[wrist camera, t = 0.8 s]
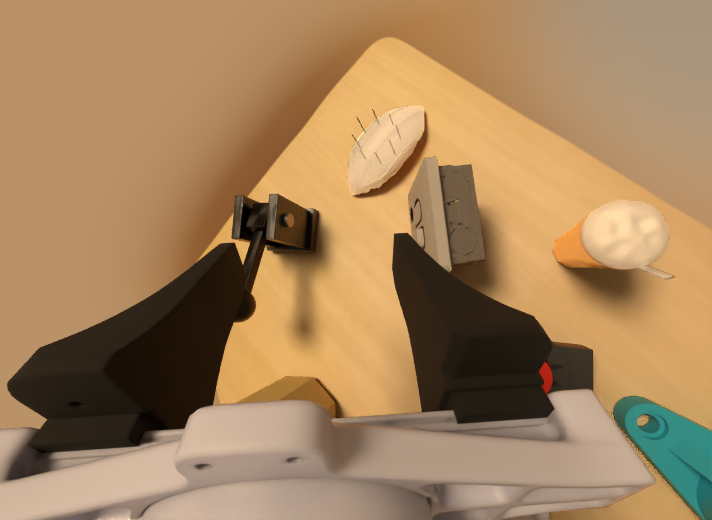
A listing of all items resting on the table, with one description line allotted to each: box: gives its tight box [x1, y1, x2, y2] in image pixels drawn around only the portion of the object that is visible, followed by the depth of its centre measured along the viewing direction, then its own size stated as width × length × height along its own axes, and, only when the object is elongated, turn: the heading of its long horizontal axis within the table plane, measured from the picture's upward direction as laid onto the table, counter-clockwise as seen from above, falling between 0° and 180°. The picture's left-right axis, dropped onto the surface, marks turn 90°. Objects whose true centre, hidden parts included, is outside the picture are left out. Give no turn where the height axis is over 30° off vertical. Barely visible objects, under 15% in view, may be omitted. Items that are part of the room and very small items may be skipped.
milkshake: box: [553, 200, 675, 279], centre depth 21 cm, size 5×5×10 cm
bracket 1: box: [232, 194, 318, 252], centre depth 32 cm, size 5×6×8 cm
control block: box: [546, 342, 593, 395], centre depth 24 cm, size 11×9×4 cm
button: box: [539, 361, 553, 394], centre depth 23 cm, size 4×4×2 cm
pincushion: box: [347, 105, 425, 196], centre depth 30 cm, size 12×6×6 cm, turn 137°
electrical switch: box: [408, 156, 485, 273], centre depth 26 cm, size 9×5×9 cm, turn 5°
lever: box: [234, 203, 269, 322], centre depth 28 cm, size 12×3×3 cm, turn 176°
